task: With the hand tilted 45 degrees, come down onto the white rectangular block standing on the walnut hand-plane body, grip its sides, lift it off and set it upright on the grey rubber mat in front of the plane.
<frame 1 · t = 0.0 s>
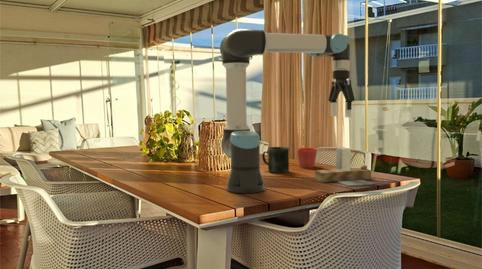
hand: (340, 116, 189), 28 cm above the table, tool pointing down, fingers open, 13 cm apart
mat: (355, 183, 175), on the table
white rectangular block: (343, 170, 186), point 4 cm above the table, touching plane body
flower pot: (306, 166, 223), on the table
mug: (275, 171, 209), on the table
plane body: (342, 179, 186), on the table
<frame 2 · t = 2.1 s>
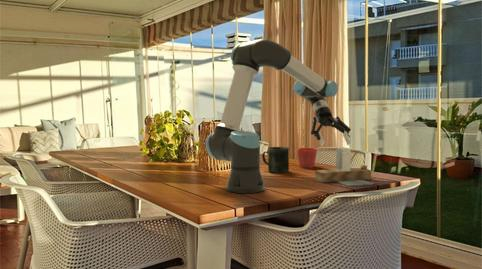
hand: (336, 144, 193), 15 cm above the table, tool tilted 45°, fingers open, 13 cm apart
nothing on the table moved.
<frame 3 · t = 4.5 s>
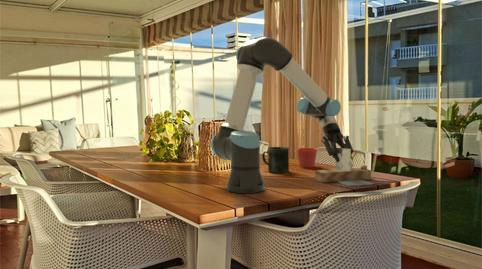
hand: (347, 166, 182), 6 cm above the table, tool tilted 45°, fingers closed on white rectangular block, 4 cm apart
white rectangular block: (343, 170, 186), point 4 cm above the table, touching gripper, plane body
everything else where it was.
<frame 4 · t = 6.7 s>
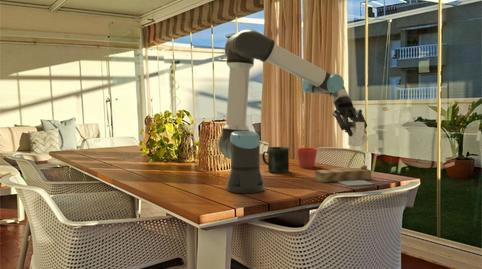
hand: (360, 141, 170), 19 cm above the table, tool tilted 45°, fingers closed on white rectangular block, 4 cm apart
white rectangular block: (356, 145, 174), point 16 cm above the table, touching gripper
everything else where it was.
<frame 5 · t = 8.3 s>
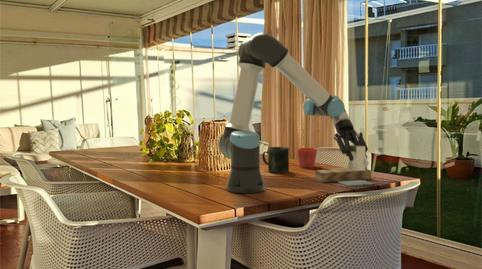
hand: (361, 165, 171), 8 cm above the table, tool tilted 45°, fingers closed on white rectangular block, 4 cm apart
white rectangular block: (357, 169, 175), point 6 cm above the table, touching gripper
everything else where it was.
when the fingers open (4 cm above the table, at t = 9.4 s): white rectangular block drops 1 cm, resting on mat.
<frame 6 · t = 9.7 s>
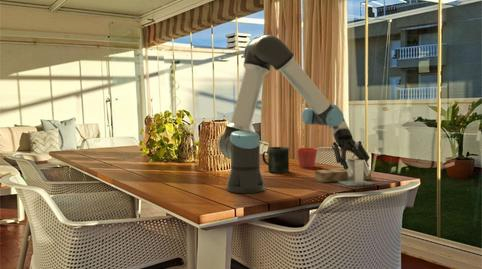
hand: (359, 174, 172), 5 cm above the table, tool tilted 45°, fingers open, 7 cm apart
white rectangular block: (355, 182, 175), resting on mat
everything else where it was.
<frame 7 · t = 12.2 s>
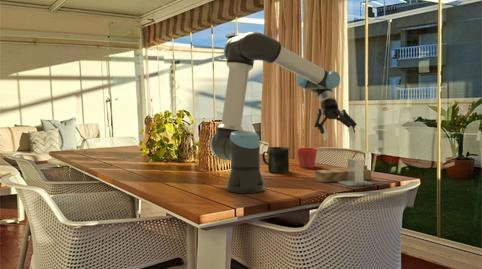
hand: (340, 139, 184), 18 cm above the table, tool tilted 40°, fingers open, 13 cm apart
nothing on the table moved.
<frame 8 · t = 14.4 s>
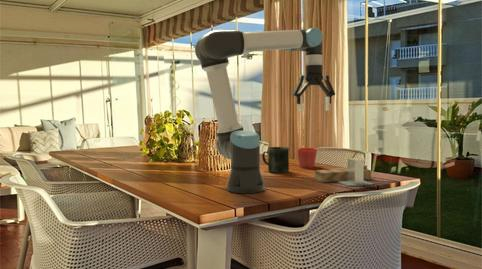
hand: (313, 111, 190), 31 cm above the table, tool pointing down, fingers open, 13 cm apart
nothing on the table moved.
at the end: white rectangular block inside the target area (0.0 cm from its centre), point 0.5 cm above the table; white rectangular block tilted 0°; the gripper is holding nothing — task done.
